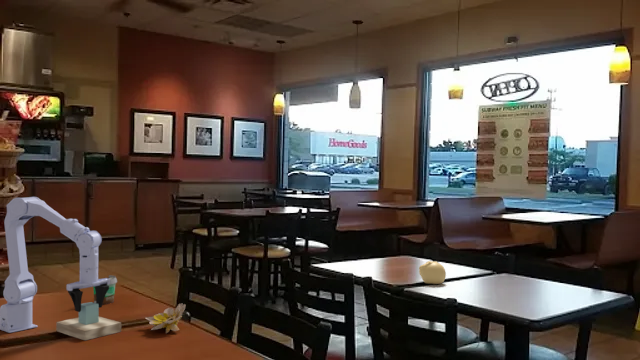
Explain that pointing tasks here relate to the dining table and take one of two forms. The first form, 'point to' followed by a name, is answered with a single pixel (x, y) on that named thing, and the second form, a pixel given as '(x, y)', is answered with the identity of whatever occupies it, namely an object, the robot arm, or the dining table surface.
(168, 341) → the dining table surface
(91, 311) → the teal block
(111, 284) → the food container
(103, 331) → the flat cream rectangular board
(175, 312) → the decorative flower
